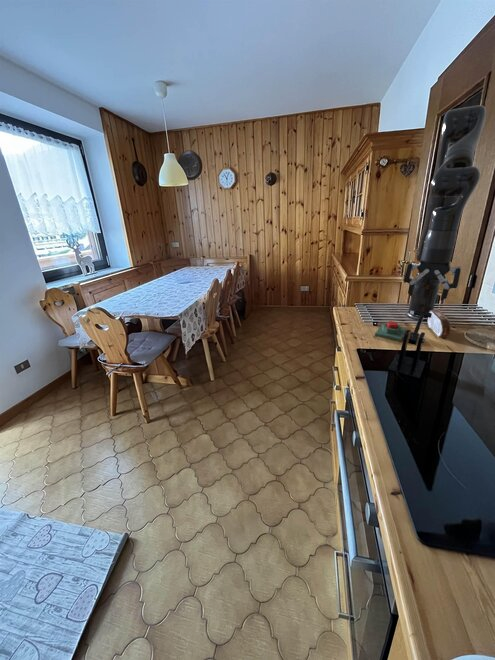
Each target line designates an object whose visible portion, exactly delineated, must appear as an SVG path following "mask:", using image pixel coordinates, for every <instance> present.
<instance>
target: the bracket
mask: <svg viewBox="0 0 495 660" xmlns="http://www.w3.org/2000/svg"><path fill="white" fill-rule="evenodd" d="M410 334H411V329H409V328H407V330H406V332H405V334H403V337H402V339H401V340H402V342H401V348H400V352H399V353H395V355H394V357H393V360H392V361H391V362H390V364H389V366H388V368H387V370H389V371H392V372H395V373H398V374H402V375H404V376H405V375H406V376H409V377H412V378H415V379H420V378H421V376H422V373H423V371H424V368H425V365H426V363H427V362H426V361H425V360H422V359H419V358H420V355H421V351H422V347H423V344H425V341H426V338H425V335H426V333H425V332H423V331H421V332H420V333H419V337H418V341H417V344H416V348H415V352H414V356H413V357H410V356H407V355H406V352H407V347H408V345H409V344H408V340H409V337H410Z"/></svg>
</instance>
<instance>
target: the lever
mask: <svg viewBox="0 0 495 660" xmlns="http://www.w3.org/2000/svg"><path fill="white" fill-rule="evenodd" d="M413 315H417V316H420V317H419V319H418V320H417V322H416V325H415V327H414V330H413V332H411V331H410V335H409V340H408V344H407V345H412V346H417V344H418V339H419V337H420V333H419V331H420V329H421V326H422V323H423V321H424V320H423V318H424V317H428V318H431V316H432V313H428V312H422V311H416V310H415V311H414V314H413Z"/></svg>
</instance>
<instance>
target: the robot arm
mask: <svg viewBox="0 0 495 660" xmlns="http://www.w3.org/2000/svg"><path fill="white" fill-rule="evenodd" d="M486 117H487V108H486V106H485V105H483V104H481V105H479V104H478V105H472V106H464V107H459V108H453V109H450V110H448V111H447V112H446V113H445V114H444V116H443V120H442V122H441V127H440V134H439V141H438V146H437V153H436V154H437V155H436V162H435V167H434V172H433V175H432V178H431V181H430V186H429V194H428V198H427V205H426V212H425V217H424V222H423V228H422V231H421V235H420V240H419V243H418V246H417V250H416V262H418V263H414V262H411V261H410V262H409V263H408V264H407V266H406V270H405V274H404V277H403V282H404V283H407V284H408V290H407V294H408V295H409V297H411V298H410V302H409V307H408V310H407V316H408V317H409V318H411V319H413V320H417V321H418V319H419V317H420V316H417V315H413V314H414V311H415V310H416V311H422V312H428V313H429V311H430V310H435V309H434V308H435V305H436V301H437V297H438V293H439V289H440V286H441V285H442V286H443V289H442V293H441V296H440V301H441V302H443V301H444V300H446V299H447V298H448V295H449V291H450V290H451V289H457V288H458V286H459V282H460V276H461V272H462V267H461V266H457V267H454V266H450V264H451V259H452V257H453V252H454V250H455V249H454V248H455V245H456V240H457V235H458V229H459V226H460V223H461V221H460V220H461V217H462V215H463V211H464V209H465V207H466V205H467V203H468V201H469V200H470V198H471V196H472V194H473V193H474V191H475V189H476V188H477V186H478V184H479V182H480V180H481V172H480V170H479V168H478V167H477V166H474V157H475V151H476V148H477V145H478V143H479V141H480V139H481V136H482V132H483V130H484V127H485V123H486ZM416 269H417V272H416V275H415V276H414V277H413V278H411V275H412V272H413V271H415V270H416ZM449 272H450V273H451V275H452V276H453V280H452V282H451V283H450V282H449V280H448V278H447V276H446V275H447V274H448V273H449ZM424 318H428V317H424ZM427 320H428V319H423V320H422V321H427Z"/></svg>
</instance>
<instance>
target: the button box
mask: <svg viewBox="0 0 495 660" xmlns="http://www.w3.org/2000/svg"><path fill="white" fill-rule="evenodd" d="M387 323H388V322H382V324H381V325H380V326H379V327H378V328H377V330H376V332H375V334H374V336H375V337H379V338H383V339H387V340H390V341H396V342H399V343H400V342H401V341H402V340H403V339H402V337H403V334H405V332H406V331H407V329H408V327H405V326H401V325H400V324H398V326H397V328H396V329H392V328H388V327H387Z"/></svg>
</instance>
